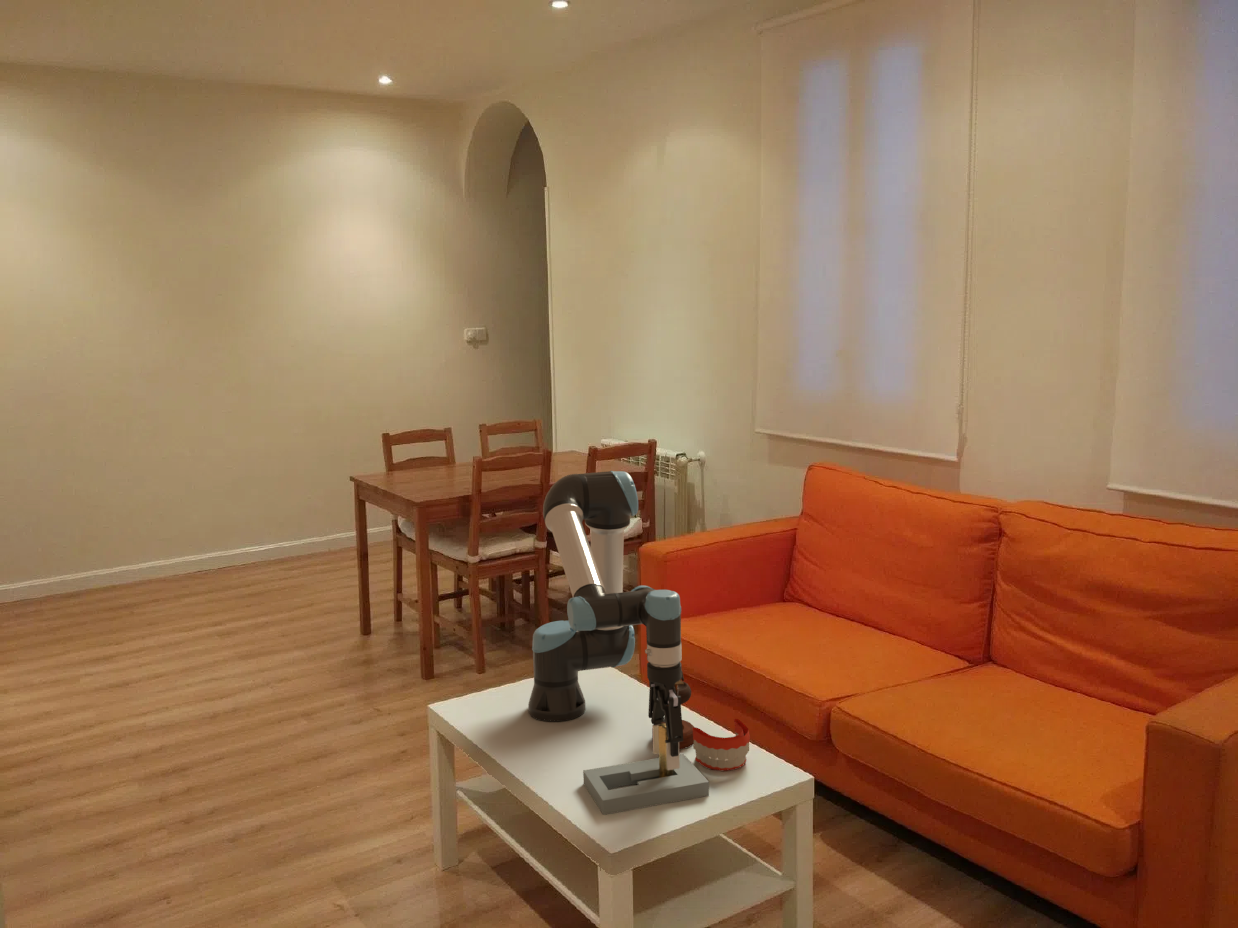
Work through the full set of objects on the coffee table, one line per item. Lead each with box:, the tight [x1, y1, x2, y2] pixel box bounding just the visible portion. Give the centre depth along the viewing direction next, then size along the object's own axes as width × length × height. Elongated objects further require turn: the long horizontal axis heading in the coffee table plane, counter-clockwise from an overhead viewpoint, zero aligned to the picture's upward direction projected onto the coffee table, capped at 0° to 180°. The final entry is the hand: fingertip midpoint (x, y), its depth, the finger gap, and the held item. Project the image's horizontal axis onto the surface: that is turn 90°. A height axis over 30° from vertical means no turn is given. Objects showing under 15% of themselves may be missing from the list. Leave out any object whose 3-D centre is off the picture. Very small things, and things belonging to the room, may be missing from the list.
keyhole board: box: [582, 753, 710, 815], centre depth 223 cm, size 15×24×3 cm, turn 108°
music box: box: [651, 671, 695, 750], centre depth 247 cm, size 15×11×20 cm
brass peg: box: [658, 723, 673, 778], centre depth 224 cm, size 6×6×14 cm
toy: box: [692, 718, 751, 772], centre depth 235 cm, size 12×10×8 cm
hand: (666, 760), depth 224 cm, fingers open, 8 cm apart
